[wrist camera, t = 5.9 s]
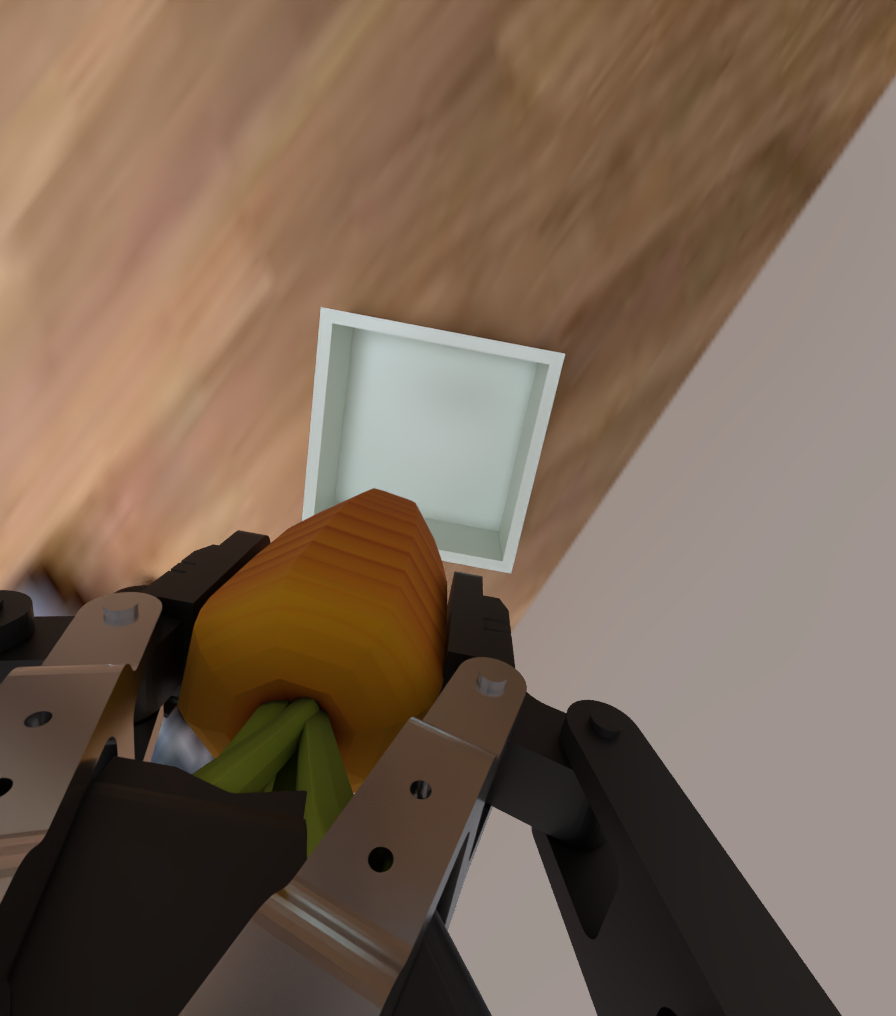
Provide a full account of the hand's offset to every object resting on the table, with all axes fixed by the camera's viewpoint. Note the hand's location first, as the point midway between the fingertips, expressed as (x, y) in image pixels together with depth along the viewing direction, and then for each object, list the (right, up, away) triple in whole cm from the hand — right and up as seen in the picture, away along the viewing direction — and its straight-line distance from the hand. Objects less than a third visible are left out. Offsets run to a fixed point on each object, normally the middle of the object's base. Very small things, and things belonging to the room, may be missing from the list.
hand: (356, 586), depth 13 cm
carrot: (0, +2, +6) cm, 7 cm away
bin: (+1, +7, +22) cm, 23 cm away
